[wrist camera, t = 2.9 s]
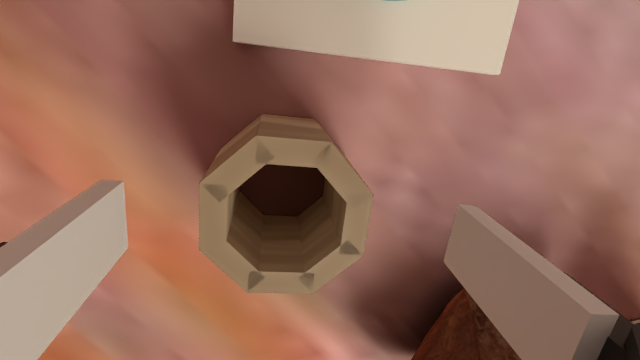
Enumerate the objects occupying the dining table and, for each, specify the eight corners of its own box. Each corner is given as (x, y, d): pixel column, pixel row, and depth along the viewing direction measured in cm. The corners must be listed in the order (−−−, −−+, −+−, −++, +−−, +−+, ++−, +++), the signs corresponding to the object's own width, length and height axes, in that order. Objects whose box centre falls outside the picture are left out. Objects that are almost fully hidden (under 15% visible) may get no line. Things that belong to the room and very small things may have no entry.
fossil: (374, 426, 23) (520, 534, 14) (354, 296, 24) (479, 322, 15) (496, 364, 29) (650, 413, 20) (476, 263, 30) (615, 268, 21)
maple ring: (219, 229, 21) (198, 291, 15) (222, 110, 19) (199, 130, 13) (335, 234, 22) (356, 294, 16) (351, 122, 20) (382, 146, 14)
